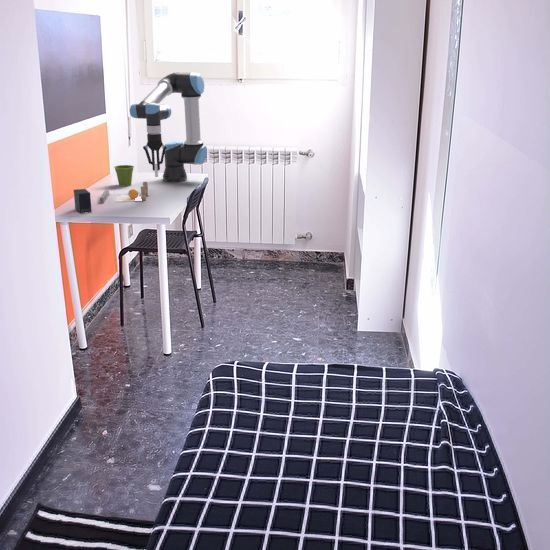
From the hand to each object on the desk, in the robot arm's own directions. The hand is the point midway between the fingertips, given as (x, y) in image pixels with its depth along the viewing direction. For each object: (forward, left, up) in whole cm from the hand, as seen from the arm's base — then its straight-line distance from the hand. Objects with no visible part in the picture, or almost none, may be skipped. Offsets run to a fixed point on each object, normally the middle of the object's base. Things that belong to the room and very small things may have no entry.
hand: (156, 176), depth 367 cm
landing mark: (0, -15, -12) cm, 20 cm away
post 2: (+6, -7, -12) cm, 16 cm away
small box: (+25, -36, -13) cm, 46 cm away
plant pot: (-35, -22, -13) cm, 43 cm away
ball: (+1, -13, -10) cm, 16 cm away
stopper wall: (0, -29, -12) cm, 32 cm away
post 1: (-6, -7, -12) cm, 15 cm away
